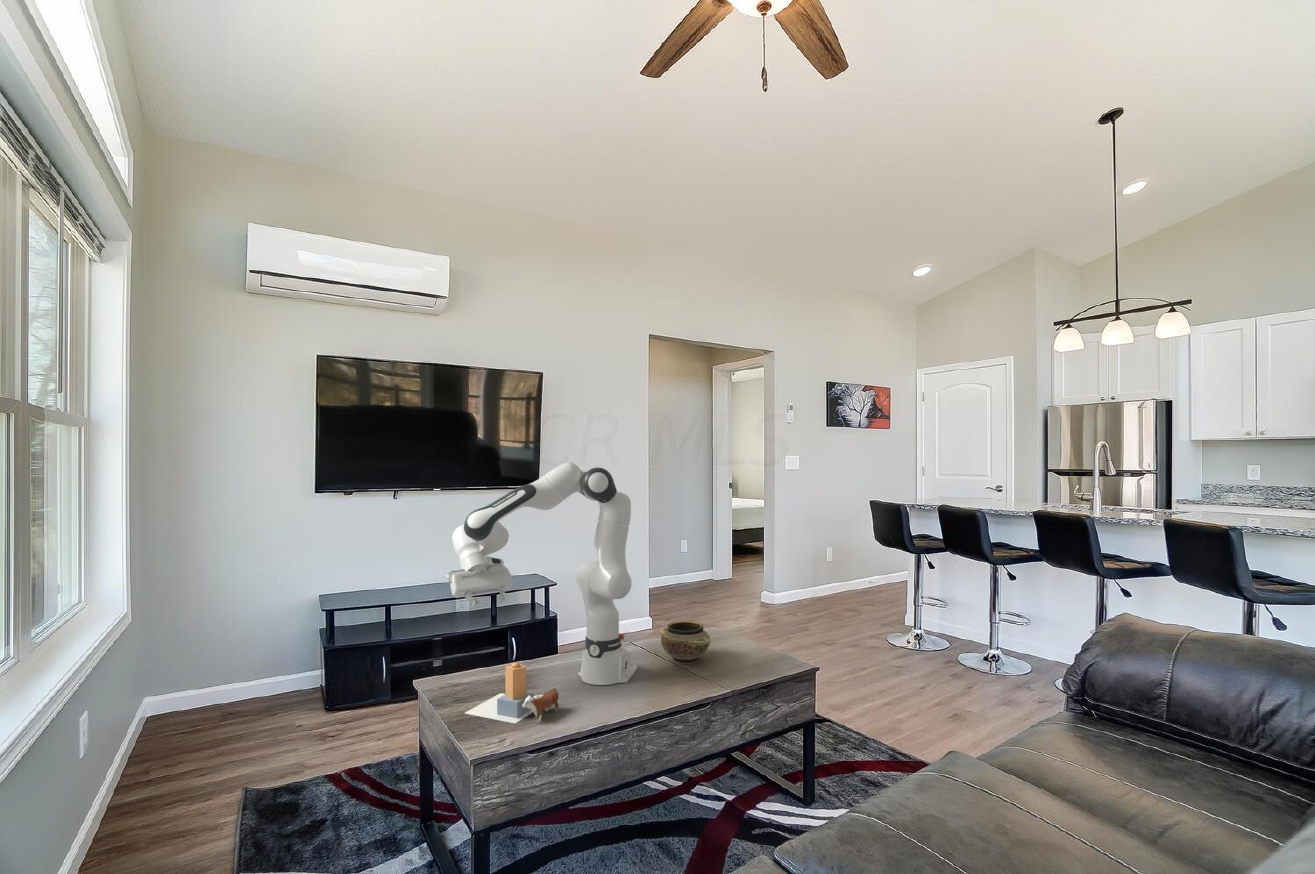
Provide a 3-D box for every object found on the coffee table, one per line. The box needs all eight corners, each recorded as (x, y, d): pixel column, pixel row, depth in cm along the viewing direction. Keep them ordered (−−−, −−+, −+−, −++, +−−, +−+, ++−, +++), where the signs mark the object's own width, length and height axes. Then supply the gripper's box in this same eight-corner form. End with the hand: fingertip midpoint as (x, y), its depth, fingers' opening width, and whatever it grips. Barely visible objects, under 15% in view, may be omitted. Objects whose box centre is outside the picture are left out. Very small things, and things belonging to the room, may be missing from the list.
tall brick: (505, 695, 188) (505, 663, 188) (518, 691, 191) (518, 660, 191) (512, 699, 185) (512, 667, 185) (526, 696, 188) (526, 663, 188)
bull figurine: (519, 725, 180) (519, 696, 180) (552, 710, 191) (552, 682, 192) (530, 729, 178) (530, 700, 178) (563, 713, 189) (563, 685, 189)
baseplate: (500, 696, 202) (500, 693, 202) (548, 705, 195) (548, 701, 195) (464, 716, 187) (464, 713, 187) (515, 727, 179) (515, 723, 179)
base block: (513, 704, 193) (513, 689, 193) (533, 708, 190) (533, 693, 190) (497, 714, 186) (497, 698, 186) (517, 718, 183) (517, 702, 183)
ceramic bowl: (652, 662, 243) (644, 625, 242) (688, 642, 253) (680, 607, 251) (691, 681, 223) (683, 641, 221) (728, 659, 233) (720, 620, 231)
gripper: (448, 565, 202) (461, 602, 195) (507, 558, 216) (521, 592, 208) (442, 577, 206) (455, 614, 198) (500, 570, 219) (514, 603, 211)
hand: (489, 602), depth 203 cm, fingers open, 8 cm apart
